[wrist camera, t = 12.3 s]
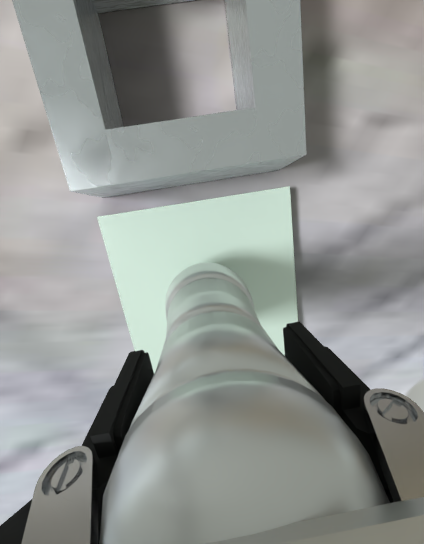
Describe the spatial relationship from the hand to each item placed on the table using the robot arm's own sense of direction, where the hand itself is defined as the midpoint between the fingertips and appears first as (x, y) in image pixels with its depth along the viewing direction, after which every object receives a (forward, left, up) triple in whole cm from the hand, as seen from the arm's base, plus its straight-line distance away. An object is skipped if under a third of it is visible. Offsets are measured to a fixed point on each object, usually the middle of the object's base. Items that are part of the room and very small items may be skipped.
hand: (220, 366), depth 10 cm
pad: (0, 0, -11) cm, 11 cm away
